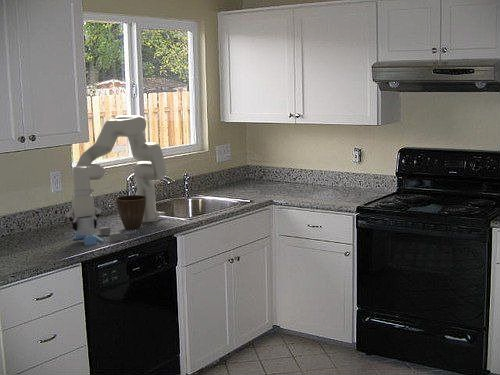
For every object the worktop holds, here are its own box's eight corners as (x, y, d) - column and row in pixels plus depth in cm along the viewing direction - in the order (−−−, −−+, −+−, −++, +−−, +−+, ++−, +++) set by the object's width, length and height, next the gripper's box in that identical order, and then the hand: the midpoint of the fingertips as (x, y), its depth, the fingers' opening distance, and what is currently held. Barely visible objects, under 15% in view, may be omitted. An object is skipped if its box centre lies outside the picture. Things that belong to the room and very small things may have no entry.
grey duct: (115, 232, 348) (115, 225, 348) (128, 239, 333) (128, 232, 332) (99, 234, 344) (98, 227, 344) (111, 241, 329) (110, 234, 328)
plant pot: (153, 227, 358) (152, 196, 355) (133, 233, 346) (131, 201, 343) (132, 224, 366) (130, 194, 364) (111, 230, 354) (109, 198, 351)
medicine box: (95, 233, 332) (93, 215, 331) (90, 236, 328) (89, 217, 327) (80, 233, 335) (78, 215, 333) (75, 235, 330) (74, 217, 329)
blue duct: (92, 235, 343) (91, 228, 342) (104, 242, 327) (103, 235, 327) (74, 238, 338) (74, 231, 338) (86, 245, 323) (85, 238, 322)
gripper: (98, 189, 336) (100, 225, 338) (61, 193, 327) (64, 230, 330) (103, 191, 329) (105, 228, 332) (66, 195, 321) (68, 233, 323)
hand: (84, 229), depth 331 cm, fingers closed on medicine box, 8 cm apart
